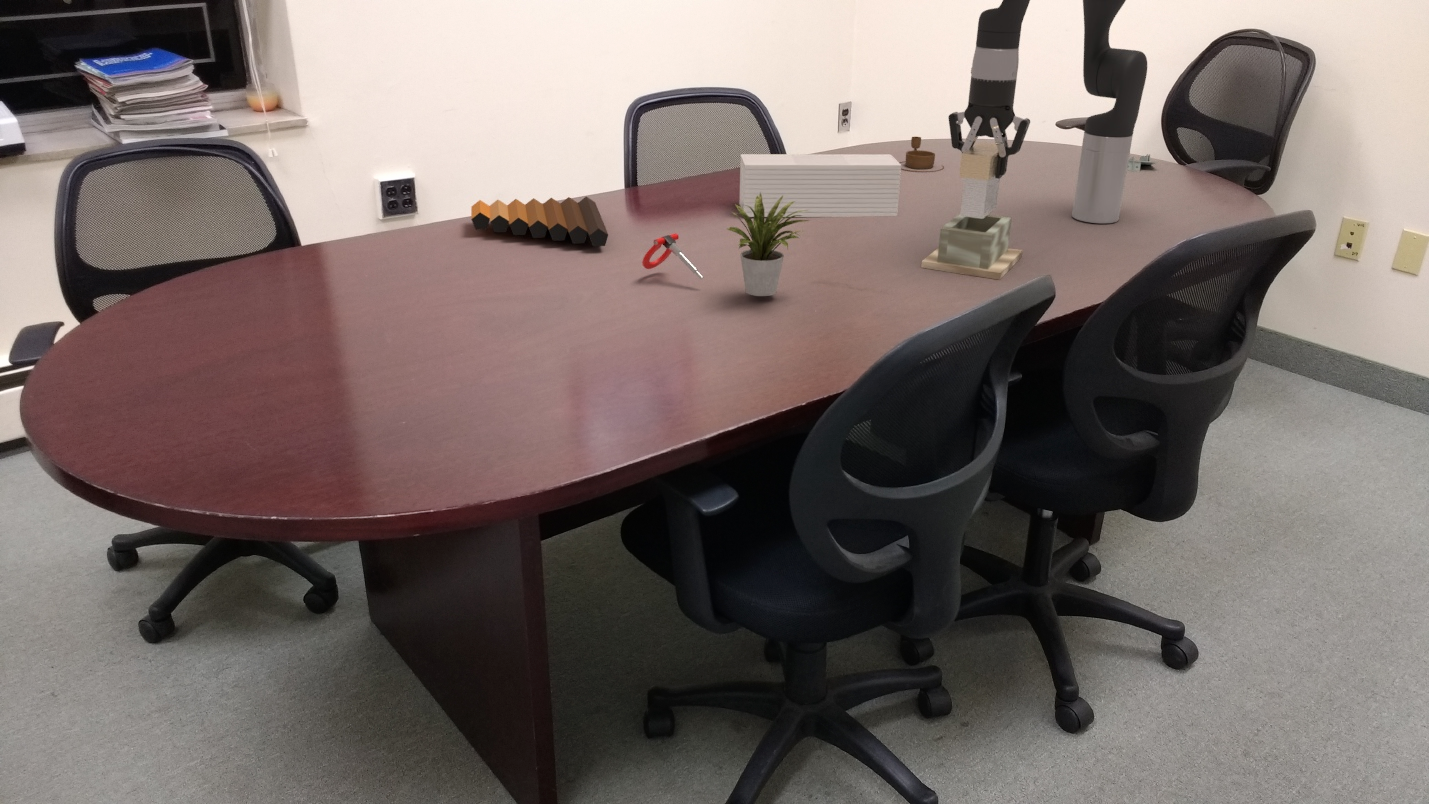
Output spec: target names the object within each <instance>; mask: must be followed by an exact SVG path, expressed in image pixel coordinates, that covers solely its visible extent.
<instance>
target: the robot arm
mask: <svg viewBox="0 0 1429 804" xmlns="http://www.w3.org/2000/svg"><path fill="white" fill-rule="evenodd" d="M1030 1H1031V0H1002V1H1001V4H1000V5H999V6H998V7H995V8H989V9H986V10H984V11H982V12H981V13H980V15H979V17H978V21H977V22H978V24H977V31H976V41H975V42H976V43H975V49H974V53H973V57H972V63H971V68H970V69H971V70H970V74H971V76H970V83H969V85H970V86H969V93H968V102H967V103H968V104H967V106H966V109H964V111H961V112H958V111H954V112H952V113H950V114H949V115H948V124H949V132H950V140H951V146H952V148H953V149H954V150H955V149H956V150H958V151H960V152H961V154H962V153H964V152H965V151H967V150H968V149H970V148H972V147H973V146H975V145H976V141H977V140H978V138H979V137H985V136H986V137H988V138H992V139H994V143H995V144H996V145H997V148H998V153H999V157H998V160H997V168H996V175H995V178H998V179H1001V178H1002V177H1003V176H1005V174H1006V173H1007V167H1008V161H1009V160H1008V159H1009V156H1011V155H1012V156H1013V155H1015V154H1017V153H1019V152H1020V151H1021V149H1022V147H1023V146H1022V145H1023V143H1024V141H1025V137H1026V135H1027V132H1028V129H1029V127H1030V124H1031V120H1030V119H1029V118H1028V117H1026V118H1022V117H1019V116H1016V114H1015V111H1014V104H1015V103H1014V102H1015V96H1016V95H1015V94H1016V85H1017V80H1018V70H1019V60H1020V59H1019V55H1020V52H1019V51H1020V49H1019V48H1020V41H1021V35H1022V34H1021V31H1022V23H1023V21H1024V19H1025V18H1024V17H1025V15H1026V13H1027V9H1028V8H1029V4H1030ZM1126 1H1127V0H1082V5H1083V6H1082V9H1083V26H1084V27H1083V29H1084V31H1083V34H1084V35H1083V62H1082V63H1083V64H1082V65H1083V67H1082V68H1083V69H1082V71H1083V73H1082V75H1083V76H1082V77H1083V84H1084V87H1085V90H1086V92H1087V93H1088V94H1089V95H1091V96H1094V97H1100V98H1108V99H1115V102H1114V105H1113V107H1112V109H1110V110H1109V111H1106V112H1103V113H1098V114H1093V115H1090V116H1089V117H1087V119H1086V120H1085V124H1084V130H1083V131H1084V132H1083V138H1082V145H1081V152H1080V158H1079V165H1078V171H1077V172H1078V173H1077V178H1076V184H1075V192H1074V198H1073V204H1072V205H1073V206H1072V211H1071V217H1072V218H1073V219H1075V220H1077V221H1080V222H1084V223H1093V224H1113V223H1117V222H1118V221H1119V220H1120V216H1121V215H1120V214H1121V208H1122V203H1123V196H1124V191H1125V190H1124V189H1125V183H1126V179H1127V172H1128V171H1127V167H1129V166H1128V161H1129V160H1130V154H1131V147H1132V141H1133V137H1134V131H1135V126H1136V123H1137V120H1138V117H1139V112H1140V106H1141V101H1142V97H1143V92H1144V88H1145V84H1146V80H1147V75H1148V74H1147V73H1148V59H1147V56H1146V54H1145V53H1144V52H1143V51H1141V50H1135V49H1125V48H1123V49H1122V48H1116V47H1111V46H1110V40H1109V39H1110V30H1111V29H1110V28H1111V26H1112V24H1113V21H1114V20H1115V18H1116V16H1117V15H1118V13H1119V12H1120V10H1121V9H1122V7H1123V6H1124V4H1125V2H1126ZM964 119H965V120H966V122H967V124H968V126H969V128H970V129H969V131H968V134H967V136H966V139H965V141H963V136H962V135H963V134H962V124H963V123H964ZM1011 124H1013V126H1014V127H1013V128H1014V130H1015V131H1016V132H1015V136H1014V138H1013V141H1012V143H1011V146H1008V145H1009V143H1008V136H1007V132H1006V130H1007V129H1008V128H1009V127H1010V125H1011Z"/></svg>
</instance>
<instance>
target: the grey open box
mask: <svg viewBox="0 0 1429 804" xmlns="http://www.w3.org/2000/svg"><path fill="white" fill-rule="evenodd" d="M1012 221H1013V218H1012V217H1011V216H1009V217H1008V216H1002V215H997V214H990V213H989V214H988V215H987V216H986V217H984V218H983V219H980V218H973V217H965V216H960V213H959V214H957V215H956V216H955V217H953V218H952V219H951V220H950V221H948V222H947V223H946V224H944V225H943V226H942V227H940V230H939V241H938V247H937V248H936V249H935V250H933V251H932V252H931V253H930V254H928V255H927V256H926V257H925V258H924V259H922V261H921V266H920V267H921V268H922V269H928V270H935V271H940V272H946V273H947V272H948V273H953V274H961V275H966V276H973V277H974V276H975V277H980V278H987V279H990V280H992V279H993V280H1000V281H1001V279H1003V277H1004V276H1005V275H1006V274H1007V273H1008V272H1009V271H1010V270H1011V269H1012V268H1013V266H1015V264H1017V262H1019V260H1020V259H1021V258H1022V257H1023V249H1017V248H1009V243H1010V235H1011V229H1012V228H1011V227H1012Z"/></svg>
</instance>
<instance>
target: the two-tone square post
mask: <svg viewBox="0 0 1429 804" xmlns="http://www.w3.org/2000/svg"><path fill="white" fill-rule="evenodd" d="M1009 145H1010V144H1008V147H1010V146H1009ZM960 157H961V158H960V165H959V174H958V177H959V178H963V186H962V195H961V197H962V198H961V206H960V213H959V214H960V216H965V217H973V218H980V219H983V218H984V217H986V216H987V215H988V214H989V215H990V214H991V213H992V212H993V211H994V210H995V209H997V204H998V195H999V187H1000V179H1001V178H1000V179H998V178H995V175H996V168H997V160H998V157H999V153H998V148H997V145H996V143H995V142H985V141H984V142H983V141H980V142H978V143H977V144H974V146H973V147H972V148H970V149H968V150H967V151H965V152H964V153H962V152H961V155H960Z"/></svg>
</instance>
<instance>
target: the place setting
mask: <svg viewBox="0 0 1429 804" xmlns="http://www.w3.org/2000/svg"><path fill="white" fill-rule="evenodd" d="M910 140H911V143H910V145H911V148H912V149H913V150H908V151H906V152H905V161H898V162H899V163H900V164H901V163H905V165H906V166H907V167H908V168H909V169H905V168H902V167H901V169H900V170H901V171H904V172H910V173H933V172H934V173H935V172H940V171H942V170H944V169H945V166H944V165H941V167H942V168H941V169H937V170H928V169H932V168H933V167H934V164H935V158H936V153H934V152H932V151H928V150H919V149H920V147H921V144H922V137H921V136H912V137H911V139H910ZM911 169H912V170H911ZM913 169H914V170H913ZM920 170H921V171H920Z"/></svg>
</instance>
